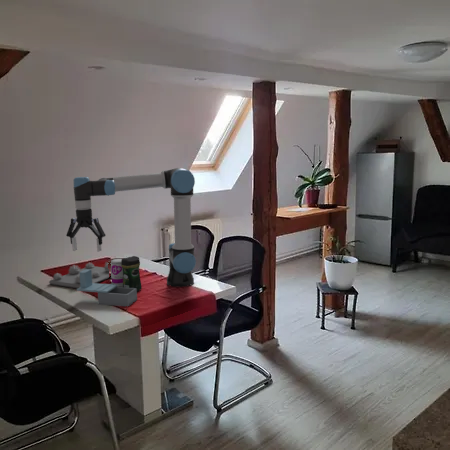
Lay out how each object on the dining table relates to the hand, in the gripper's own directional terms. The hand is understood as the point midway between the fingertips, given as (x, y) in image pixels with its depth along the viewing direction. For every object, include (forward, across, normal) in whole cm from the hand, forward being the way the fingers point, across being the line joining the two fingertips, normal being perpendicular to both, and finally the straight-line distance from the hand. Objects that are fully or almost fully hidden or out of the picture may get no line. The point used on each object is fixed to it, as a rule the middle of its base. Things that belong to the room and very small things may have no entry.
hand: (87, 250), depth 225 cm
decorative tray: (+26, +20, -31) cm, 45 cm away
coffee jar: (+26, -15, -16) cm, 34 cm away
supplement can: (+26, -5, -21) cm, 34 cm away
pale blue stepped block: (+19, -5, +2) cm, 20 cm away
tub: (+25, -16, +2) cm, 30 cm away
